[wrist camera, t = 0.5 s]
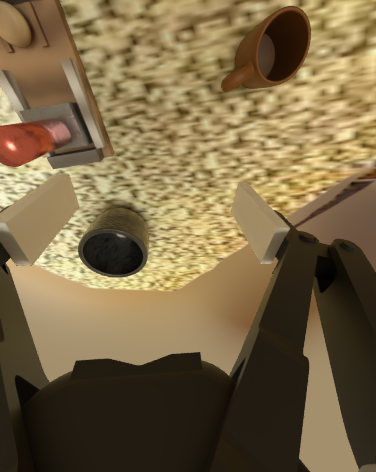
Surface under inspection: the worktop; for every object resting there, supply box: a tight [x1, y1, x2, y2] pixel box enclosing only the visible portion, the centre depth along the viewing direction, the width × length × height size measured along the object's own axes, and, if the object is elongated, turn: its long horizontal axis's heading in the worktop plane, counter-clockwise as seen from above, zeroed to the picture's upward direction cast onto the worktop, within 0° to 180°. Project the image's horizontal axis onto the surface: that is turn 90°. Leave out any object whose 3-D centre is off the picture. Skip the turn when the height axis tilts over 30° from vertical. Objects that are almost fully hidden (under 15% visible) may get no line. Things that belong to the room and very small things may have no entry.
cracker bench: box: [0, 0, 114, 169], centre depth 27 cm, size 24×12×9 cm, turn 8°
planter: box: [78, 208, 149, 277], centre depth 43 cm, size 14×14×13 cm
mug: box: [221, 6, 311, 92], centre depth 28 cm, size 12×8×9 cm, turn 119°
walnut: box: [0, 1, 31, 47], centre depth 24 cm, size 4×4×4 cm
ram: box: [0, 103, 93, 167], centre depth 26 cm, size 6×8×16 cm
